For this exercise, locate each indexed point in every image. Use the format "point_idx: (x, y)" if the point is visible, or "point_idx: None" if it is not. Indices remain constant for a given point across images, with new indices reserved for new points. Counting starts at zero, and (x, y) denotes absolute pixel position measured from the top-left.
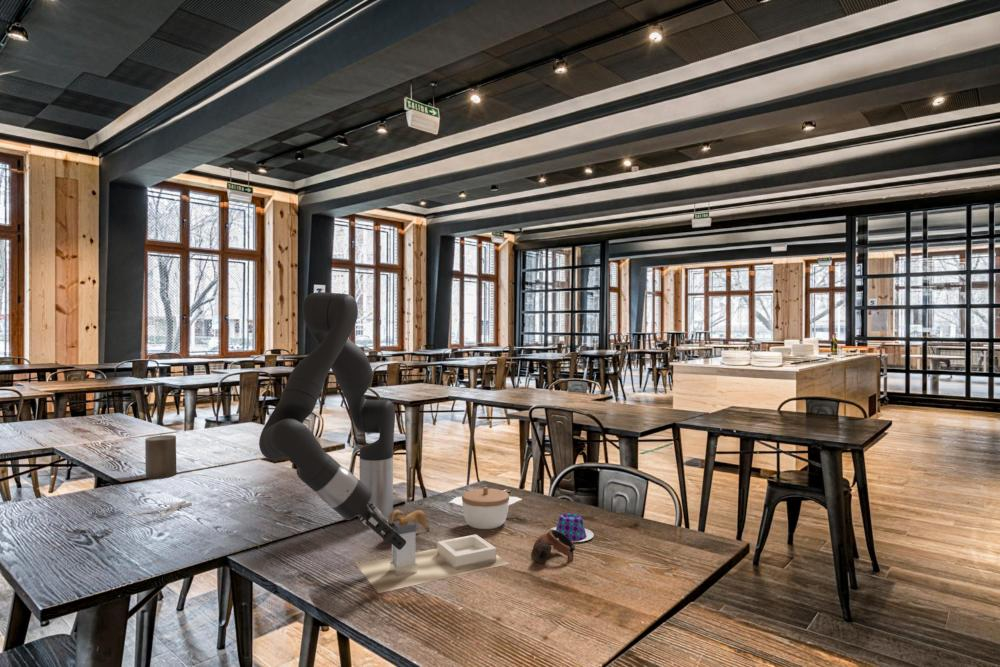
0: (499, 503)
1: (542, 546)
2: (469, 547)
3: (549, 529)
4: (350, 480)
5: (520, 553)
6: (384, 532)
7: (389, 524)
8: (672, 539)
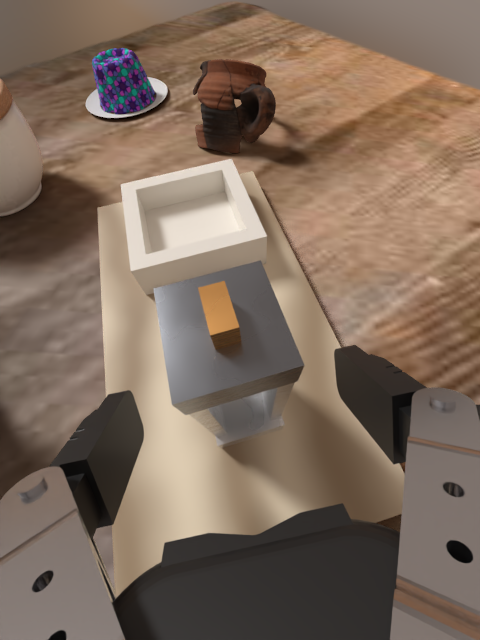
0: (10, 94)
1: (270, 90)
2: (150, 219)
3: (92, 113)
4: None
5: (175, 161)
6: (133, 467)
7: (113, 426)
8: (197, 31)
